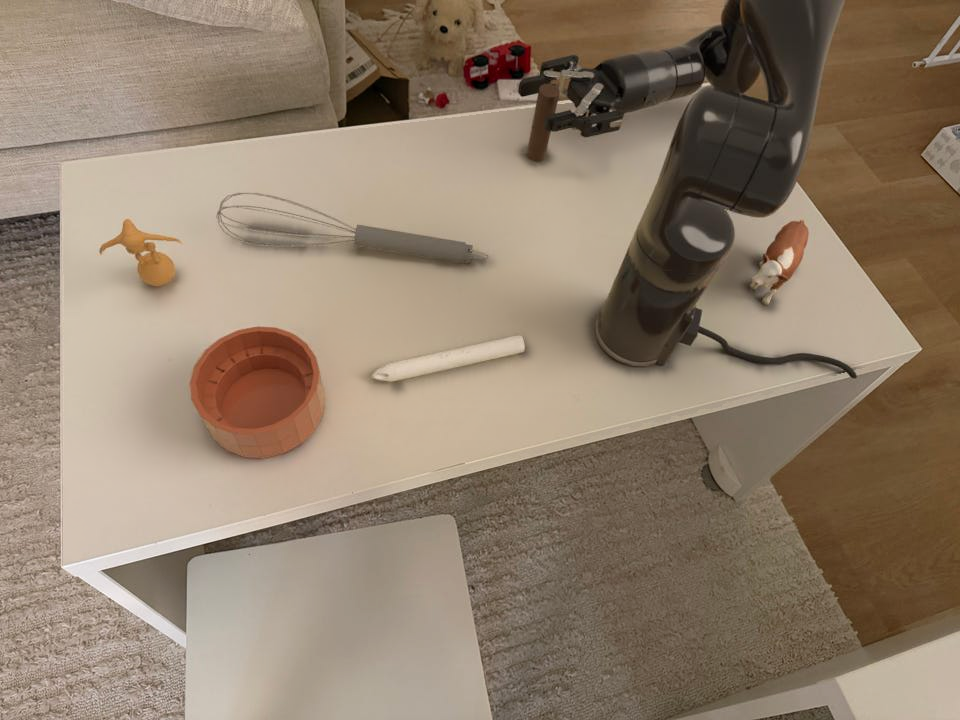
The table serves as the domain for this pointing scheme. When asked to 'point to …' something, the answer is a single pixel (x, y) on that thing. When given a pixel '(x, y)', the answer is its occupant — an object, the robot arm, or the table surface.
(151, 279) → the figurine
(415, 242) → the kitchen whisk
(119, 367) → the table surface
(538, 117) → the stirring stick
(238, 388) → the bowl
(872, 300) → the table surface
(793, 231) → the bull figurine
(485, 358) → the marker
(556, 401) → the table surface
